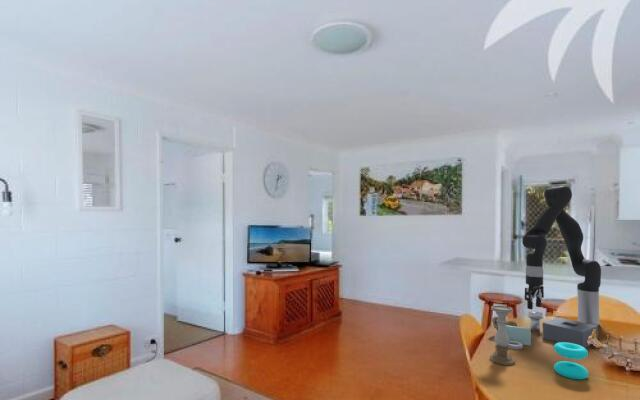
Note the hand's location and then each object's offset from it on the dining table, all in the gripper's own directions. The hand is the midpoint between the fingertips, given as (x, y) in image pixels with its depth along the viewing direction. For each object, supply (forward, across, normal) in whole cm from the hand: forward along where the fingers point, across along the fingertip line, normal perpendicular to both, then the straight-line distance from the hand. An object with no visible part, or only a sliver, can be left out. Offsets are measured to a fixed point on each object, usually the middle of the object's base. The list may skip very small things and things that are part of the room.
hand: (534, 308), depth 181 cm
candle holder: (+11, +52, +12) cm, 54 cm away
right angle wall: (+12, +32, +7) cm, 34 cm away
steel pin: (+11, 0, 0) cm, 11 cm away
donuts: (+11, +43, +32) cm, 55 cm away
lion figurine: (+11, +20, -3) cm, 23 cm away
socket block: (+10, +2, +16) cm, 19 cm away
